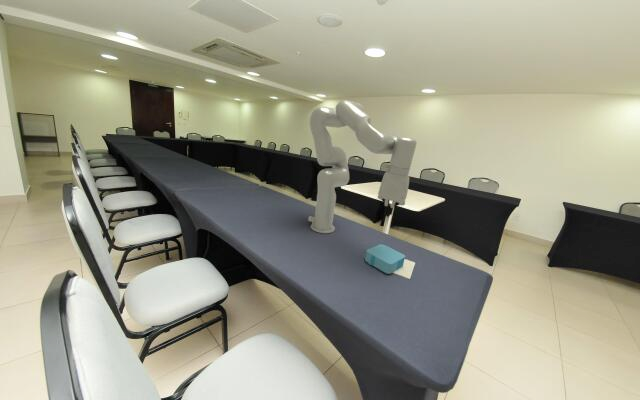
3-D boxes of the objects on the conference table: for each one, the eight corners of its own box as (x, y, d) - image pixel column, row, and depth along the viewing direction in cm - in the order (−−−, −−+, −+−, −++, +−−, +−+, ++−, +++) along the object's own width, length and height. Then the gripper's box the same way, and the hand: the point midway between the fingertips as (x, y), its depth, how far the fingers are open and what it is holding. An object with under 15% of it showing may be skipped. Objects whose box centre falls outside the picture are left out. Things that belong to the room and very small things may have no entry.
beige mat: (368, 264, 96) (369, 263, 96) (378, 250, 108) (378, 249, 108) (409, 279, 89) (409, 278, 89) (415, 263, 101) (415, 262, 101)
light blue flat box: (363, 260, 97) (388, 275, 89) (365, 250, 96) (390, 264, 88) (379, 252, 105) (404, 265, 97) (381, 243, 104) (406, 255, 96)
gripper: (376, 167, 90) (366, 212, 95) (417, 177, 83) (404, 224, 89) (381, 166, 96) (372, 207, 102) (420, 174, 90) (407, 218, 95)
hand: (387, 215), depth 95 cm, fingers closed
